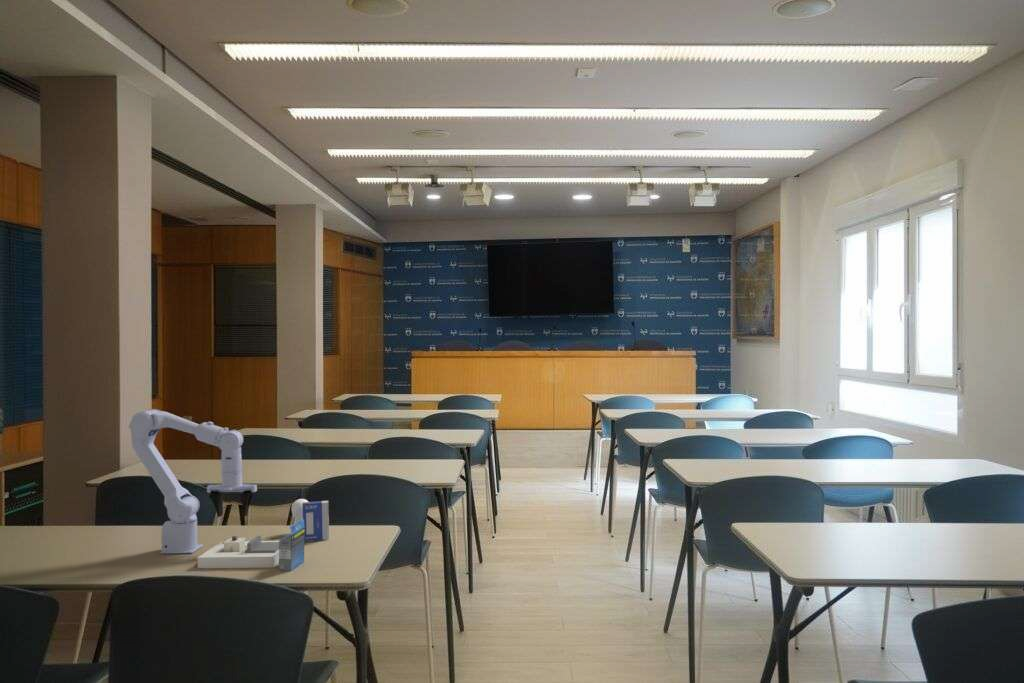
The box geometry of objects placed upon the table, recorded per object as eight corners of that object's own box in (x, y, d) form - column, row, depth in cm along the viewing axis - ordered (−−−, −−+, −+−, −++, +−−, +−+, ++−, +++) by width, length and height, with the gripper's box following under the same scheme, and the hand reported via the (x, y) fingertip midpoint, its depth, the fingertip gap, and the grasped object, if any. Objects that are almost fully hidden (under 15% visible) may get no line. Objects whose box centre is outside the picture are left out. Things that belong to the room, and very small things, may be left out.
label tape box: (292, 561, 210) (291, 518, 210) (305, 561, 210) (304, 518, 210) (278, 571, 201) (277, 526, 201) (292, 571, 201) (291, 526, 201)
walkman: (303, 541, 230) (302, 503, 230) (303, 539, 233) (302, 501, 233) (329, 539, 232) (328, 501, 232) (329, 537, 235) (328, 499, 235)
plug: (223, 561, 211) (223, 539, 211) (230, 556, 216) (229, 534, 215) (239, 561, 211) (239, 538, 211) (245, 556, 215) (245, 534, 215)
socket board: (197, 568, 205) (197, 556, 205) (221, 551, 221) (221, 540, 221) (273, 567, 205) (272, 555, 205) (291, 550, 221) (291, 539, 221)
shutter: (245, 552, 209) (244, 543, 208) (256, 544, 217) (255, 535, 217) (275, 552, 208) (274, 543, 208) (284, 543, 217) (284, 535, 217)
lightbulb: (305, 535, 237) (305, 501, 237) (288, 535, 238) (287, 500, 238) (314, 530, 243) (314, 497, 243) (297, 530, 244) (296, 496, 244)
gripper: (202, 473, 220) (203, 519, 220) (250, 473, 220) (251, 518, 220) (212, 469, 227) (213, 513, 227) (259, 468, 227) (260, 513, 227)
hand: (232, 515), depth 224 cm, fingers open, 7 cm apart
